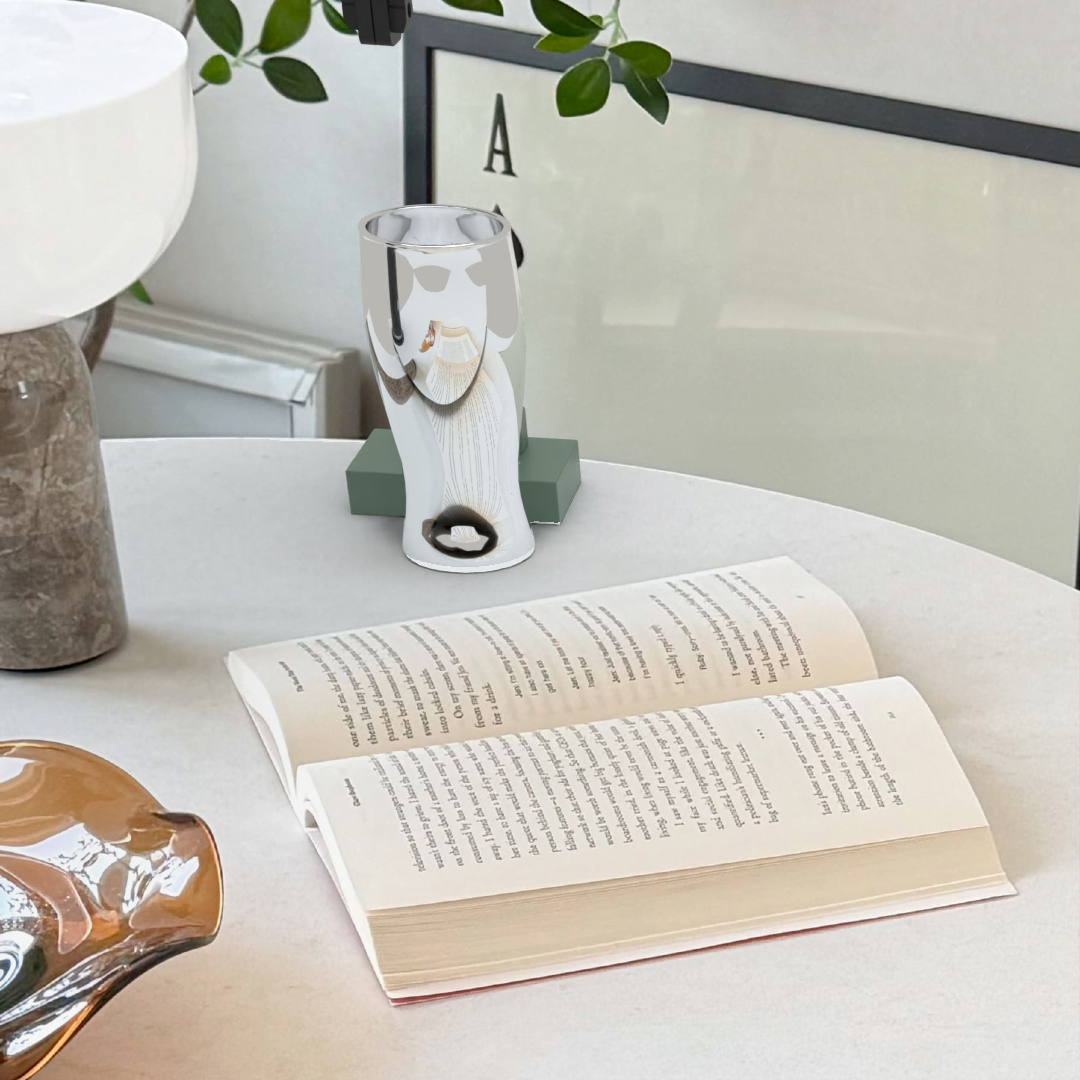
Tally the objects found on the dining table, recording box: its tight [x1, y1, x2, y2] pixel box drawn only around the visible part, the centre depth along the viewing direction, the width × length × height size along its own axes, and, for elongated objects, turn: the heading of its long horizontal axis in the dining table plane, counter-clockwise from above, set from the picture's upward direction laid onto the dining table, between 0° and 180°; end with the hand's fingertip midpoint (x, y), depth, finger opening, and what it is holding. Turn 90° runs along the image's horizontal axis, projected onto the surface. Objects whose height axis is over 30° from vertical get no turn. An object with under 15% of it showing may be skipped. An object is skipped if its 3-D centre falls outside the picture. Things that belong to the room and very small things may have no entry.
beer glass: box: [357, 203, 536, 567], centre depth 128 cm, size 7×7×15 cm
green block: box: [344, 406, 582, 523], centre depth 136 cm, size 10×7×4 cm
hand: (381, 41), depth 127 cm, fingers closed
